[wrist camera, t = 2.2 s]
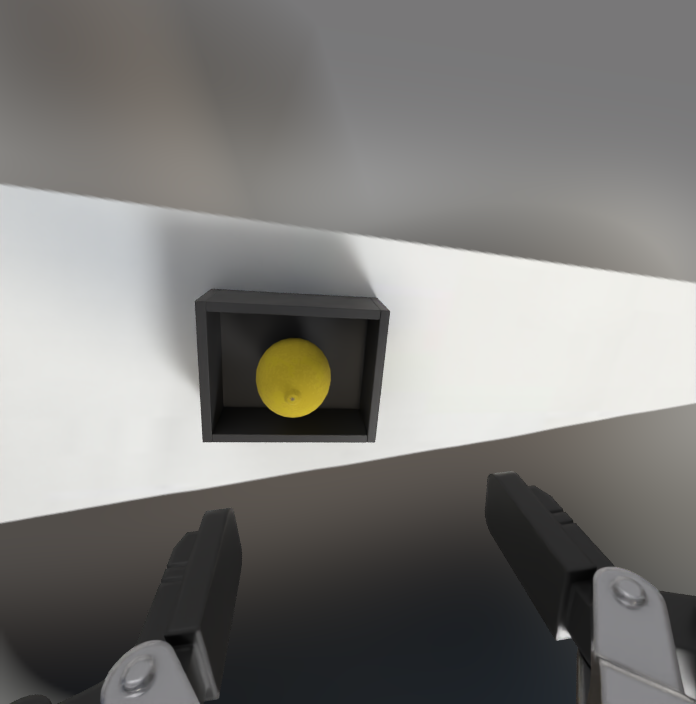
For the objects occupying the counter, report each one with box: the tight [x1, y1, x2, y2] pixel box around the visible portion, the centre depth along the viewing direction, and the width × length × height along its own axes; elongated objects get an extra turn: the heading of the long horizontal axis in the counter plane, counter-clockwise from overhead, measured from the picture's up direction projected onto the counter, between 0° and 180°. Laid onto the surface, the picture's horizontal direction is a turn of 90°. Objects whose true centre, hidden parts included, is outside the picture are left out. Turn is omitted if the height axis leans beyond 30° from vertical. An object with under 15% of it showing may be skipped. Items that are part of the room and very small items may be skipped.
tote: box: [195, 289, 390, 442], centre depth 30 cm, size 13×11×5 cm
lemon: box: [256, 338, 331, 418], centre depth 28 cm, size 6×6×8 cm
